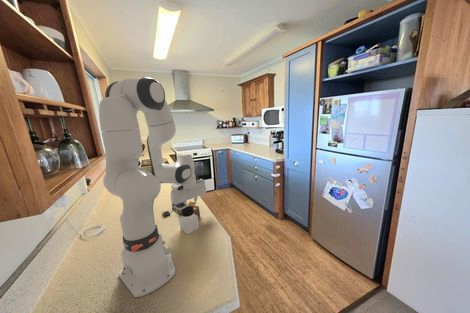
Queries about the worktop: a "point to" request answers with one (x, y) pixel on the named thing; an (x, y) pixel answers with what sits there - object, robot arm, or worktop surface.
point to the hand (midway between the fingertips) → (191, 205)
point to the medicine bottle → (188, 220)
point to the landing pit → (178, 206)
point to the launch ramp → (196, 210)
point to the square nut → (166, 213)
